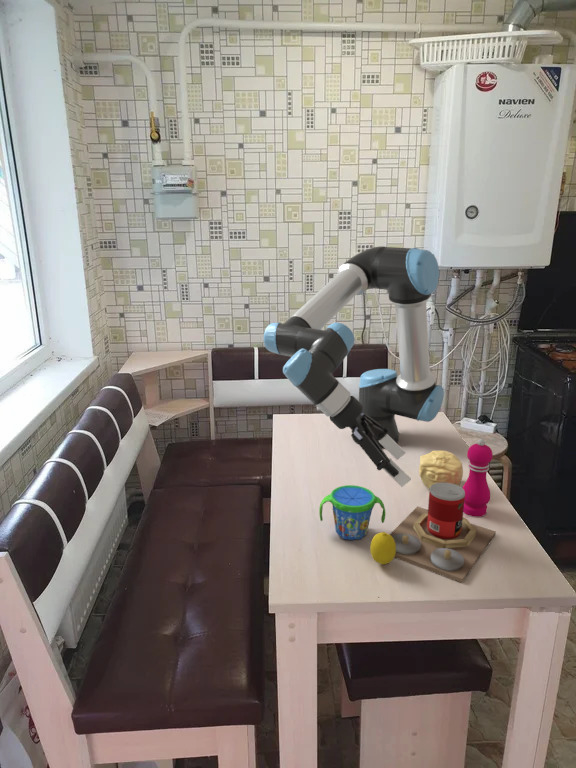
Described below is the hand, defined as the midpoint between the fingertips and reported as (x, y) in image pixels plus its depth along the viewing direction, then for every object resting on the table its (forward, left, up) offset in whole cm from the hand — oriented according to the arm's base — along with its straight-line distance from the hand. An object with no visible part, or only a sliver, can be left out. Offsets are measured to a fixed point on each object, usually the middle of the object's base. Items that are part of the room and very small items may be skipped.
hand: (403, 468), depth 137 cm
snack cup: (+7, -9, -17) cm, 21 cm away
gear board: (-1, +9, -17) cm, 19 cm away
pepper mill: (-20, +11, -17) cm, 29 cm away
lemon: (+14, +2, -17) cm, 22 cm away
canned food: (-5, +9, -16) cm, 19 cm away
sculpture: (-27, -1, -17) cm, 32 cm away
